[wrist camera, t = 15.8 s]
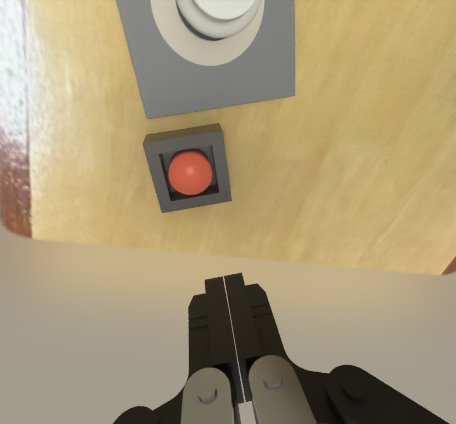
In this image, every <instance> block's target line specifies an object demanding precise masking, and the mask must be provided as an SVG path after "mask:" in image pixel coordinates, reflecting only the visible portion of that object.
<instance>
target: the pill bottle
mask: <svg viewBox="0 0 456 424" xmlns="http://www.w3.org/2000/svg"><path fill="white" fill-rule="evenodd" d="M175 1H176V7H177V10H178V14H179V16H180V18H181V20H182V22H183V24H184V25H185V27H186V28H187V29H188V30H189V31H190V32H191V33H192V34H193V35H195V36H196V37H198V38H200V39H202V40H206V41H219V40H222V39H225V38H228V37H231V36H233V35H235V34H237V33H239V32H241V31H242V30H243V29H245V28H246V27H247V26H248V25H249V24H250V23H251V21H252V20H253V19H254V17H255V15H256V14H257V12H258V10H259V7H260V5H261V2H262V0H175Z"/></svg>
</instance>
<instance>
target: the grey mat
mask: <svg viewBox="0 0 456 424" xmlns="http://www.w3.org/2000/svg"><path fill="white" fill-rule="evenodd" d="M116 1H117V5H118V9H119V13H120V17H121V21H122V24H123V28H124V32H125V36H126V40H127V44H128V48H129V51H130V55H131V59H132V63H133V67H134V71H135V74H136V78H137V82H138V86H139V90H140V94H141V98H142V101H143V105H144V109H145V113H146V117H147V119H151V118H157V117H163V116H170V115H176V114H183V113H189V112H195V111H202V110H208V109H214V108H221V107H227V106H233V105H240V104H246V103H253V102H259V101H265V100H272V99H278V98H284V97H291V96H295V21H294V0H262V2H261V5H260V7H259V10H258V12H257V14H256V15H255V17H254V19H253V20H252V21H251V23H250V24H249V25H248V26H247V27H246V28H245V29H243V30H242V31H241V32H239V33H237V34H235V35H233V36H231V37H228V38H225V39H222V40H219V41H206V40H202V39H200V38H198V37H196V36H195V35H193V34H192V33H191V32H190V31H189V30H188V29H187V28H186V27H185V25H184V24H183V22H182V20H181V18H180V16H179V14H178V10H177V7H176V1H175V0H116Z"/></svg>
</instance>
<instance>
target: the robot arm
mask: <svg viewBox="0 0 456 424" xmlns="http://www.w3.org/2000/svg"><path fill="white" fill-rule="evenodd" d="M224 278H225V285H226V291H227V297H228V302H229V308H230V314H231V320H232V326H233V332H234V338H235V344H236V350H237V356H238V362H239V367H240V372H241V378H242V383H243V388H244V394H245V399H246V402H248V401H252V404H253V410H254V415H255V420H256V424H449V423H448V422H446V421H444V420H443V419H441V418H440V417H438V416H436V415H435V414H433V413H432V412H430V411H428V410H427V409H425V408H423V407H422V406H420V405H419V404H417V403H416V402H414V401H412V400H411V399H409V398H408V397H406V396H404V395H403V394H401V393H400V392H398V391H396V390H395V389H393V388H392V387H390V386H388V385H387V384H385V383H384V382H382V381H380V380H379V379H377V378H376V377H374V376H373V375H371V374H369V373H368V372H366V371H364V370H363V369H361V368H359V367H356V366H352V365H341V366H338V367H336V368H334V369H333V370H332V371H331V372H330V373H321V372H313V371H308V370H305V369H302V368H300V367H298V366H297V365H295V364H294V363H293V362H292V361H291V360H290V359H289V358H288V356H287V354H286V352H285V350H284V347H283V344H282V341H281V338H280V335H279V332H278V328H277V325H276V322H275V319H274V317H273V314H272V311H271V307H270V305H269V301H268V298H267V295H266V292H265V291H264V290H263V289H262V288H261V287H260V286H259V285H258V284H252V285H246V286H245V284H244V280H243V276H242V273H238V274H232V275H227V276H224ZM205 290H206V293H205V294H200V295H195V296H193V298H192V300H191V303H190V305H189V307H188V310H189V311H188V313H189V375H188V379H187V381H186V384H185V386H184V387H183V389H182V390H181V391H180V392H179V394H178V395H177V396H176V397H174V398H173V399H171V400H170V401H168V402H167V403H165V404H163V405H161V406H160V407H158V408H156V409H155V410H153V411H152V410H151V409H149V408H148V407H144V406H137V407H133V408H130V409H128V410H127V411H125V412H124V413H122V414H121V415H120V416H119V417H118V418H117V419H116V420H115V422H114V423H113V424H241V421H240V414H239V407H238V404H239V403H244V399H243V393H242V387H241V381H240V375H239V368H238V362H237V356H236V350H235V345H234V338H233V332H232V326H231V320H230V314H229V308H228V303H227V298H226V292H225V287H224V282H223V277H217V278H212V279H207V280H205Z"/></svg>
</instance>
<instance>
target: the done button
mask: <svg viewBox="0 0 456 424" xmlns="http://www.w3.org/2000/svg"><path fill="white" fill-rule="evenodd" d="M169 180H170V183H171V185H172V186H173V187H174V188H175V189H176V190H177V191H178V192H180V193H183V194H186V195H195V194H198V193H201V192H202V191H204V190H205V189H206V188H207V187H208V186H209V184H210V182H211V180H212V170H211V166H210V162H209V159H208V158H207V156H206V155H205V154H204V153H203V152H202V151H200V150H198V149H195V148H191V149H185V150H179V151H178V152H176V153H175V154H174V155H173V157H172V158H171V161H170V165H169Z"/></svg>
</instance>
